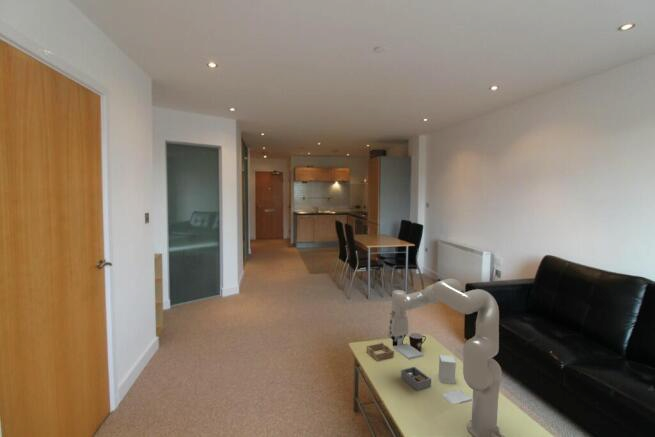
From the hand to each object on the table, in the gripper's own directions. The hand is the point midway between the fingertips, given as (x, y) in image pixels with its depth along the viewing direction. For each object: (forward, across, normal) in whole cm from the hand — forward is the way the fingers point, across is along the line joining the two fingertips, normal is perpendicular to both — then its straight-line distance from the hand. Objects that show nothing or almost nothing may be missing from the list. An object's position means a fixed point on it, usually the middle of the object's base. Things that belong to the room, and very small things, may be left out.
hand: (397, 346), depth 169 cm
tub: (+18, +7, -7) cm, 21 cm away
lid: (-1, 0, -7) cm, 7 cm away
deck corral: (+18, +6, +26) cm, 32 cm away
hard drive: (+19, +17, -25) cm, 36 cm away
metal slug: (+17, +6, -4) cm, 19 cm away
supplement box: (+18, +24, -12) cm, 32 cm away
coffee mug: (+18, +32, +21) cm, 43 cm away
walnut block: (+17, +7, -11) cm, 21 cm away
